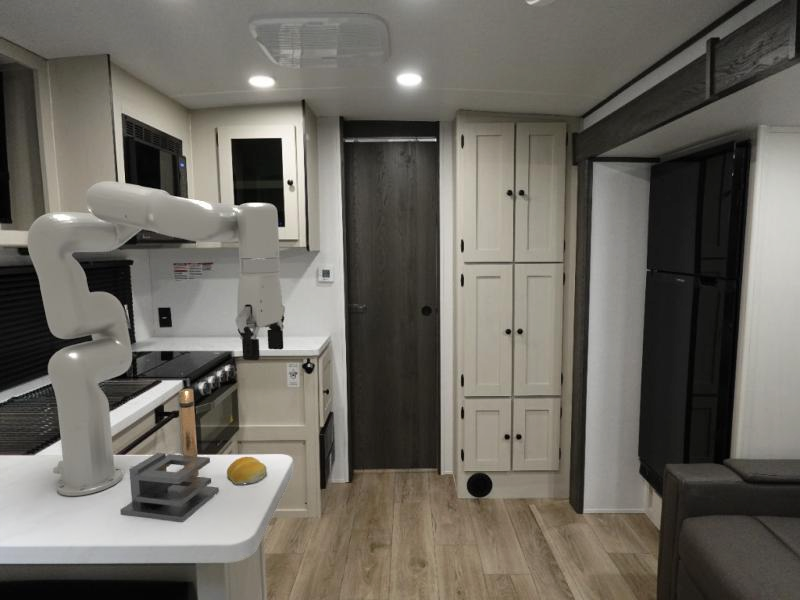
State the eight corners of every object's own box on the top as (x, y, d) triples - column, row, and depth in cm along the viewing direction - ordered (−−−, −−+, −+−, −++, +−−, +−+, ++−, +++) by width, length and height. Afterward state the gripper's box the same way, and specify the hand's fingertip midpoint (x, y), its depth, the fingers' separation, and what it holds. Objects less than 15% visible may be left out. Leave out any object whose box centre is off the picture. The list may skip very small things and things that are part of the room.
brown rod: (181, 477, 114) (175, 392, 112) (189, 471, 117) (184, 388, 115) (193, 478, 114) (187, 392, 112) (201, 472, 117) (196, 388, 115)
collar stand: (120, 514, 99) (117, 473, 98) (162, 485, 110) (159, 448, 110) (182, 522, 96) (179, 479, 95) (218, 491, 107) (216, 453, 106)
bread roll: (238, 490, 108) (237, 472, 108) (222, 476, 115) (221, 459, 115) (273, 477, 114) (272, 460, 113) (256, 465, 121) (255, 449, 120)
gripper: (264, 265, 106) (268, 345, 108) (216, 270, 90) (222, 363, 92) (297, 265, 105) (300, 346, 107) (254, 270, 88) (259, 365, 90)
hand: (264, 354), depth 99 cm, fingers open, 9 cm apart
